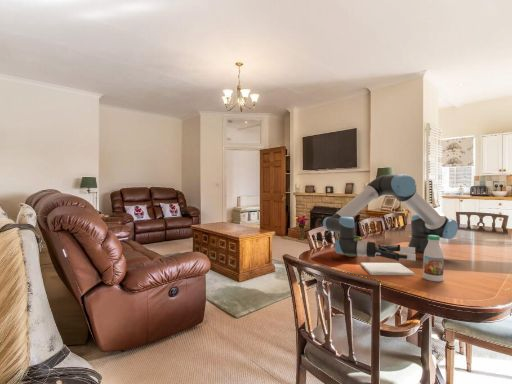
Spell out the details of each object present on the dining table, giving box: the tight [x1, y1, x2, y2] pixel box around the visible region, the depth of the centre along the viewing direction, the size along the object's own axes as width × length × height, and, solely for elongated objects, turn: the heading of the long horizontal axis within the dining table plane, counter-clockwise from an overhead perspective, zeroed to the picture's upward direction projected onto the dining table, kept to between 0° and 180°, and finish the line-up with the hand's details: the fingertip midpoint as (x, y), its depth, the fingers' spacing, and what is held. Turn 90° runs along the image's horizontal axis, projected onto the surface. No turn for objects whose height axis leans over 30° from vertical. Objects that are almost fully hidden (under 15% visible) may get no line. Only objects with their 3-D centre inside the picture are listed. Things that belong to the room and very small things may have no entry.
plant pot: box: [344, 235, 362, 258], centre depth 170 cm, size 12×12×11 cm
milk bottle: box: [422, 235, 444, 282], centre depth 128 cm, size 8×8×20 cm
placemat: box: [360, 262, 415, 276], centre depth 142 cm, size 20×16×1 cm
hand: (415, 253), depth 131 cm, fingers open, 13 cm apart
